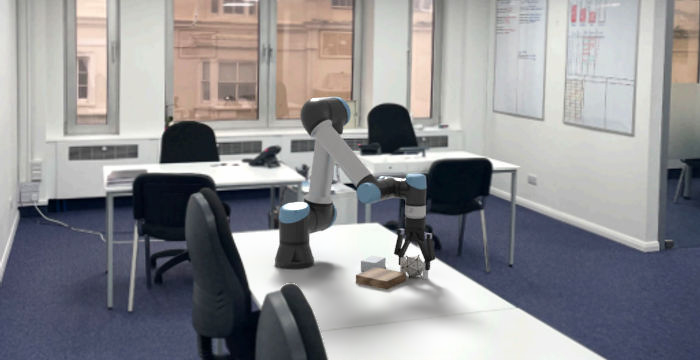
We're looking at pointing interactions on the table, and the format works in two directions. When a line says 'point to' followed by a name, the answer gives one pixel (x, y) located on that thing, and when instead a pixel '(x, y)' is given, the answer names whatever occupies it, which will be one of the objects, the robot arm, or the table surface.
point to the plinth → (380, 278)
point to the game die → (413, 266)
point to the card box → (372, 263)
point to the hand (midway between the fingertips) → (414, 276)
